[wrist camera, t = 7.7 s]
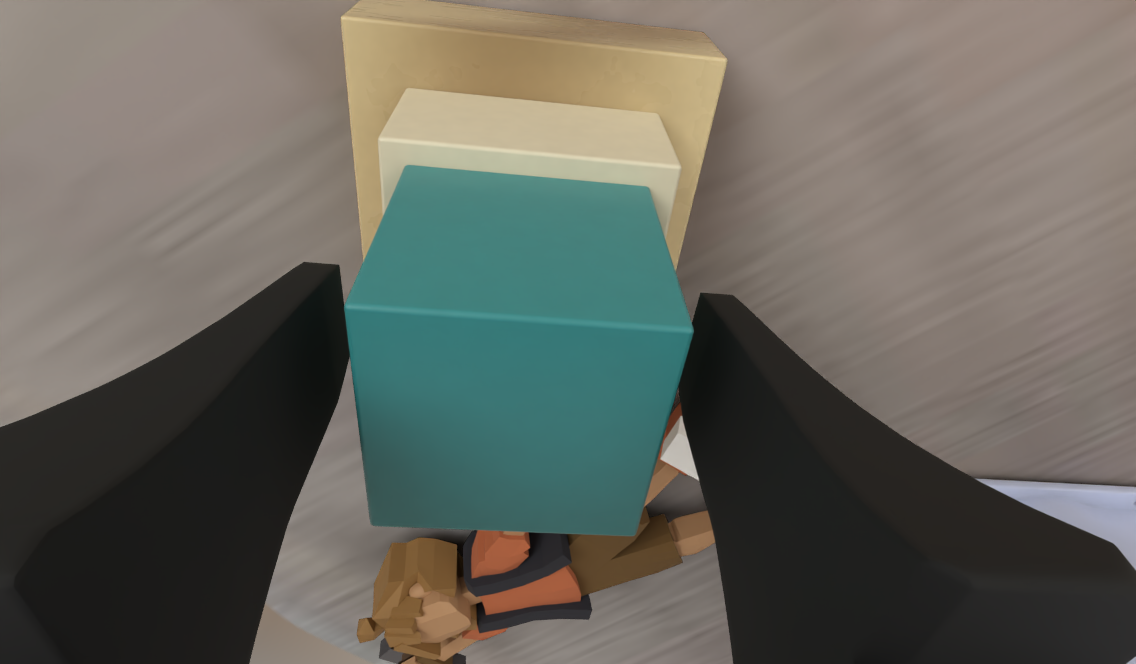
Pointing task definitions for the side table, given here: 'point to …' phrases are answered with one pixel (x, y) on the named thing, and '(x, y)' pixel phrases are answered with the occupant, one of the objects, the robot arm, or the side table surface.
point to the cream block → (529, 142)
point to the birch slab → (526, 77)
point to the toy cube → (514, 353)
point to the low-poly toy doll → (521, 573)
